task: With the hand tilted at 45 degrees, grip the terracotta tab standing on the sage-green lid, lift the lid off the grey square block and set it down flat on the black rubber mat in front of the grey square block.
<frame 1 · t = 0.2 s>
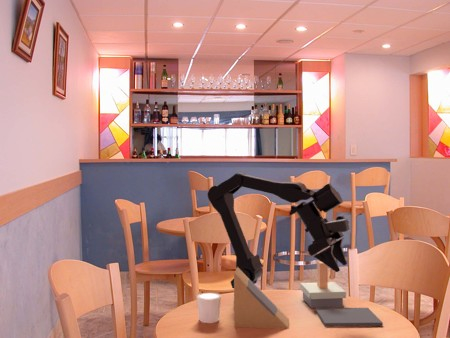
hand: (341, 267, 139), 15 cm above the table, tool tilted 35°, fingers open, 9 cm apart
mat: (347, 318, 141), on the table
white cup: (208, 320, 140), on the table
sandwich container: (262, 323, 138), on the table
grey square block: (322, 302, 156), on the table
lid: (322, 293, 156), point 3 cm above the table, touching grey square block
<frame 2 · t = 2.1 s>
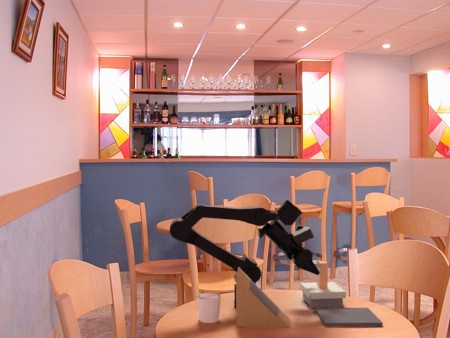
hand: (314, 270, 155), 10 cm above the table, tool tilted 45°, fingers open, 9 cm apart
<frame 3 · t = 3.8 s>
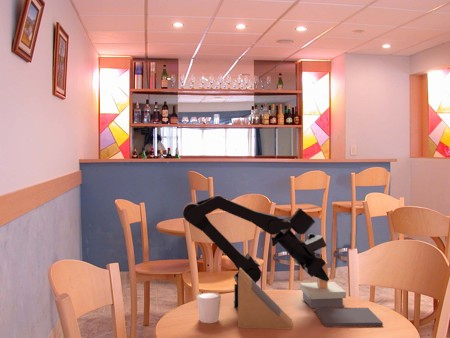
hand: (326, 278, 156), 8 cm above the table, tool tilted 45°, fingers closed on lid, 3 cm apart
lid: (322, 293, 156), point 3 cm above the table, touching gripper, grey square block
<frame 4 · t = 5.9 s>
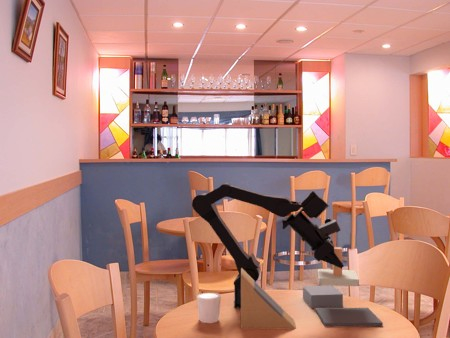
hand: (342, 265, 148), 13 cm above the table, tool tilted 45°, fingers closed on lid, 3 cm apart
lid: (337, 280, 149), point 9 cm above the table, touching gripper
when the fingers open (8 cm above the table, at t = 8.1 s): lid drops 2 cm, resting on mat.
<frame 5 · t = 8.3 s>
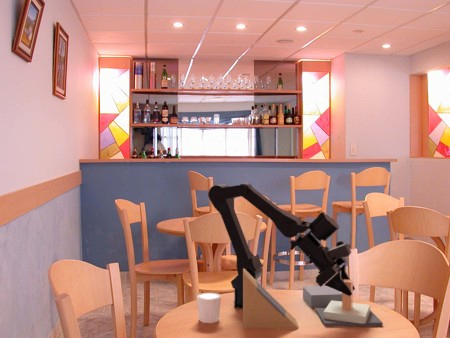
hand: (352, 292, 140), 8 cm above the table, tool tilted 45°, fingers open, 5 cm apart
lid: (347, 314, 141), point 1 cm above the table, touching mat
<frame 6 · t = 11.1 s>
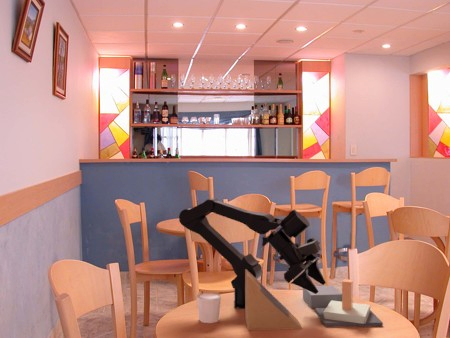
hand: (321, 288, 144), 8 cm above the table, tool tilted 45°, fingers open, 9 cm apart
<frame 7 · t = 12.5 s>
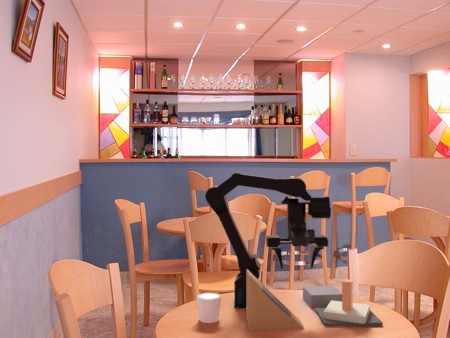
hand: (296, 268, 151), 12 cm above the table, tool pointing down, fingers open, 9 cm apart
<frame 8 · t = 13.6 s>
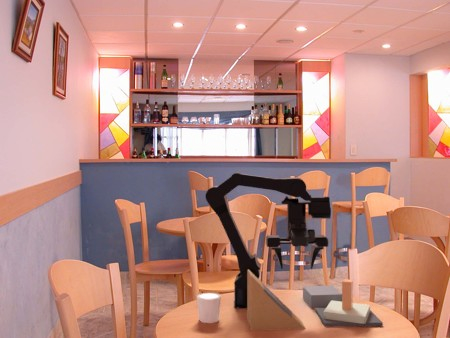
hand: (296, 268, 151), 12 cm above the table, tool pointing down, fingers open, 9 cm apart
at the end: lid inside the target area on the mat (0.0 cm from its centre), point 1.0 cm above the mat's base; lid touching mat; lid tilted 0° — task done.
